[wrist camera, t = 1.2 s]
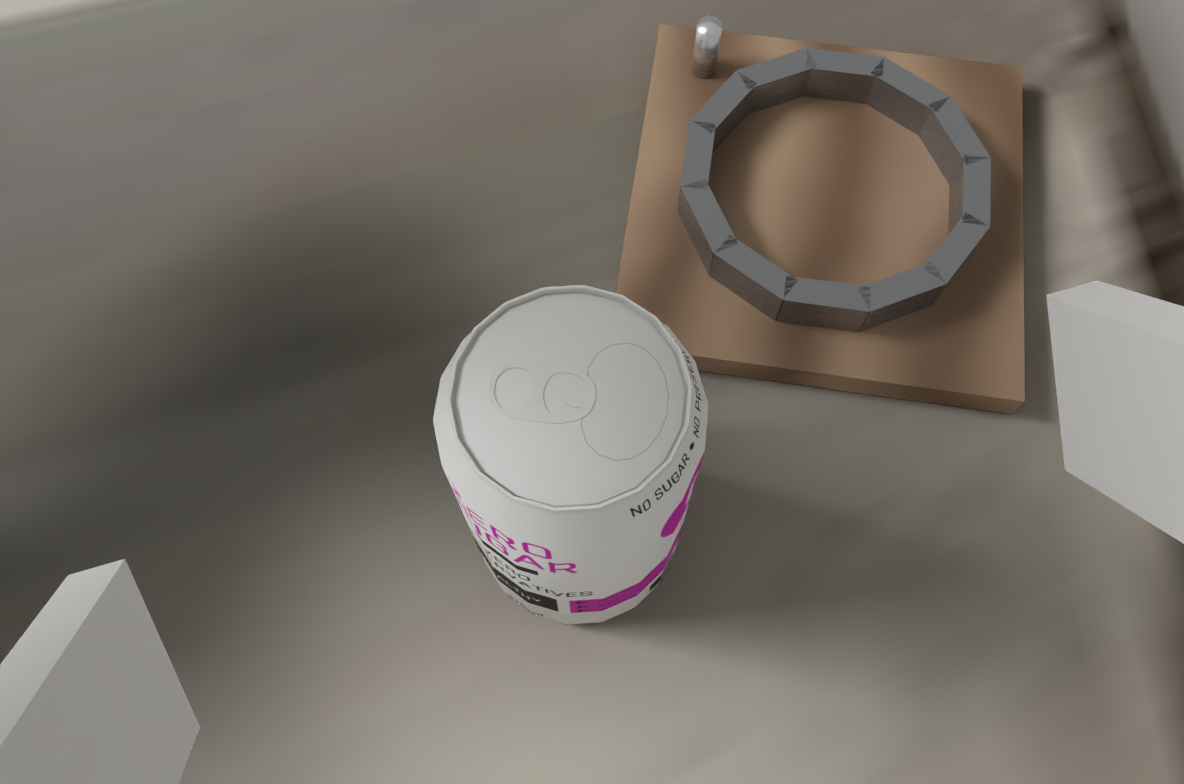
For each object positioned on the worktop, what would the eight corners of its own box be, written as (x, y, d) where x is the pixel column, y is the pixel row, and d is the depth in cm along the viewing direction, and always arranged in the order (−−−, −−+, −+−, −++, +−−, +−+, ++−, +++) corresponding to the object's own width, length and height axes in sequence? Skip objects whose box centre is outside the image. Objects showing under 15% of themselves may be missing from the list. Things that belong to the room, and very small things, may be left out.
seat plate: (606, 358, 46) (607, 343, 44) (658, 44, 53) (659, 23, 51) (1011, 414, 45) (1024, 401, 43) (1010, 86, 52) (1022, 66, 50)
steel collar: (656, 305, 45) (660, 272, 42) (693, 58, 50) (698, 14, 48) (973, 348, 44) (998, 317, 42) (976, 92, 50) (999, 49, 47)
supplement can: (682, 447, 44) (721, 279, 30) (666, 638, 41) (701, 549, 27) (497, 428, 45) (452, 253, 31) (467, 616, 41) (403, 517, 28)
